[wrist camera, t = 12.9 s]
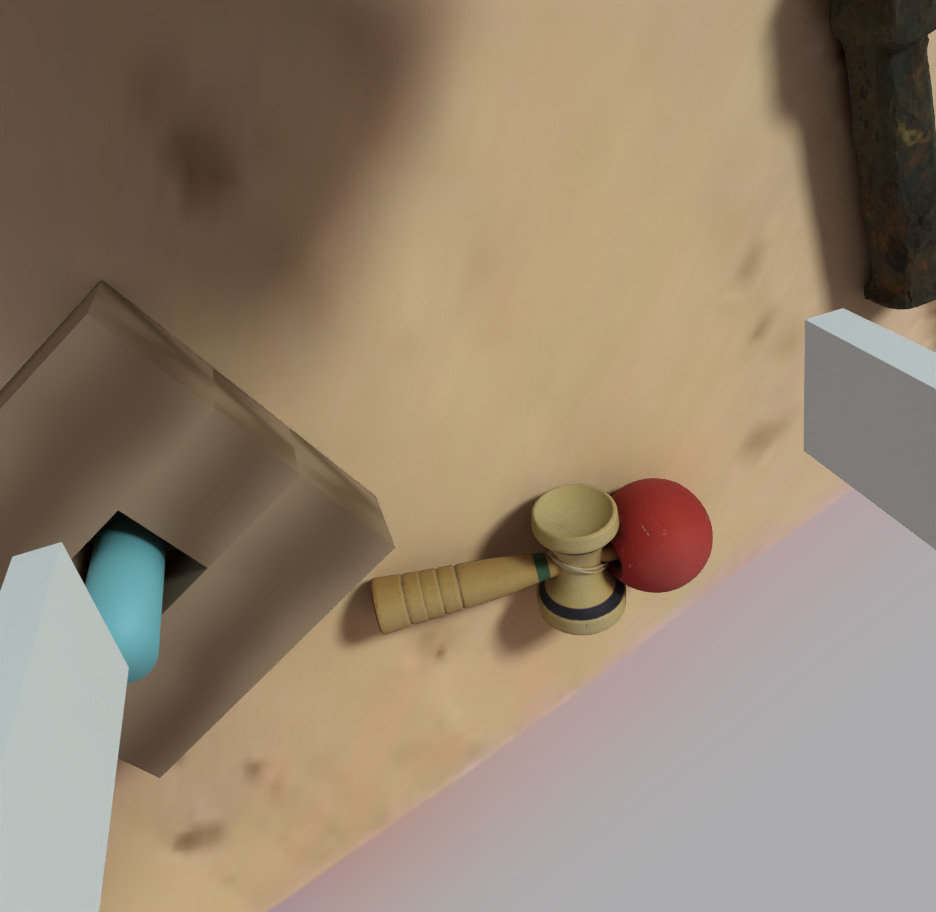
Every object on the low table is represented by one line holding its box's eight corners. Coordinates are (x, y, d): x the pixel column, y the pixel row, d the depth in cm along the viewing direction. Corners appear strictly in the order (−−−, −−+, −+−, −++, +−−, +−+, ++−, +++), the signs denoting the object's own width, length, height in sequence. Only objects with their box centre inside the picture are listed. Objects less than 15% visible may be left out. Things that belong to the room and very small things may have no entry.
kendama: (394, 640, 49) (698, 565, 50) (395, 703, 43) (741, 617, 44) (359, 517, 47) (679, 440, 47) (356, 566, 41) (723, 477, 41)
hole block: (-141, 545, 37) (-185, 611, 33) (101, 279, 35) (87, 313, 31) (163, 706, 45) (159, 778, 41) (375, 496, 43) (394, 547, 39)
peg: (85, 524, 40) (53, 662, 31) (128, 480, 39) (107, 606, 31) (140, 558, 41) (123, 698, 33) (181, 515, 41) (175, 645, 32)
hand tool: (917, 270, 47) (985, 292, 43) (853, 300, 46) (915, 324, 42) (887, -129, 37) (970, -149, 33) (806, -96, 37) (880, -112, 33)
